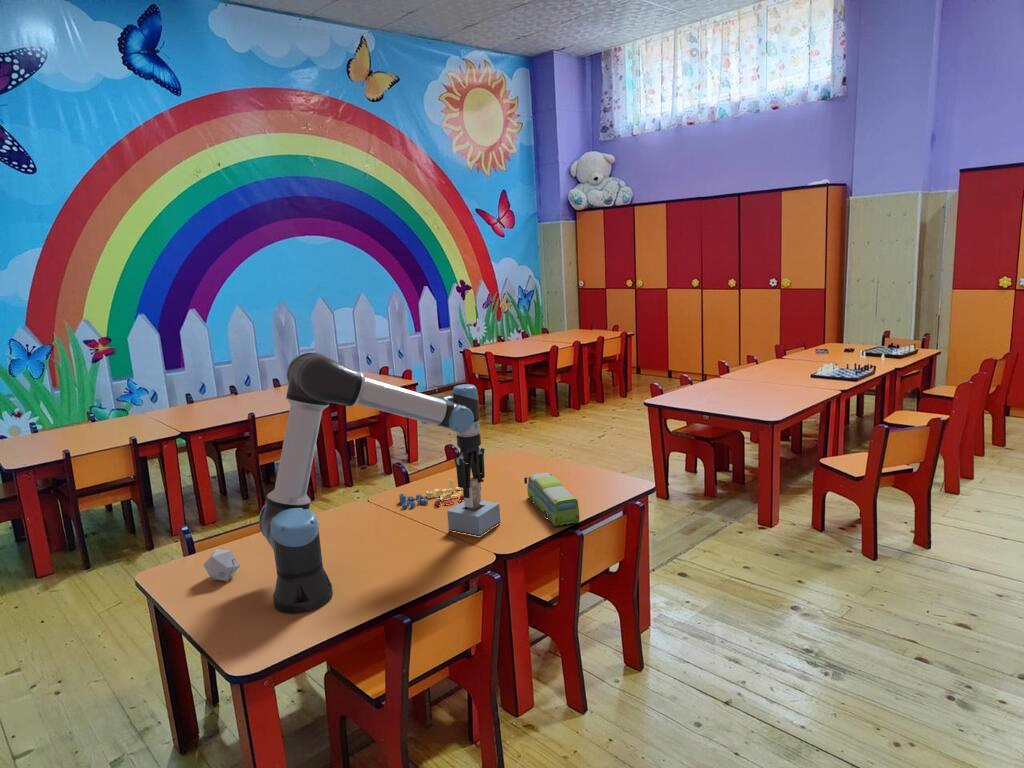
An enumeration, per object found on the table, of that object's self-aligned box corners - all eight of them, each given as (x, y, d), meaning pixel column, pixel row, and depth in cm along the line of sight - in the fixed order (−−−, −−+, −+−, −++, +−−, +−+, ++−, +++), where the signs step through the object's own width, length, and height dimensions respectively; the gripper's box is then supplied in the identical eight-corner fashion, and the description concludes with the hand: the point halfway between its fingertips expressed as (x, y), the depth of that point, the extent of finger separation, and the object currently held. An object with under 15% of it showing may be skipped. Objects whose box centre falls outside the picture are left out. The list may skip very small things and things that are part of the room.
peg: (475, 518, 221) (473, 482, 219) (465, 516, 223) (462, 480, 221) (482, 513, 224) (480, 478, 222) (472, 512, 227) (470, 476, 224)
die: (211, 591, 193) (230, 561, 193) (191, 570, 197) (210, 541, 196) (232, 587, 201) (251, 559, 201) (213, 568, 204) (231, 540, 204)
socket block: (479, 538, 217) (478, 516, 215) (448, 531, 223) (447, 510, 222) (500, 523, 227) (499, 503, 225) (470, 517, 233) (469, 498, 231)
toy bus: (552, 493, 252) (551, 467, 250) (583, 525, 222) (582, 495, 220) (524, 497, 249) (523, 471, 247) (552, 530, 220) (551, 500, 218)
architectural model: (507, 479, 270) (507, 466, 269) (524, 490, 257) (523, 476, 256) (395, 503, 251) (394, 489, 250) (406, 516, 239) (405, 501, 238)
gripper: (462, 442, 209) (467, 515, 214) (493, 428, 223) (497, 496, 228) (442, 439, 213) (447, 511, 218) (474, 425, 227) (478, 493, 232)
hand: (473, 503), depth 223 cm, fingers closed on peg, 4 cm apart
